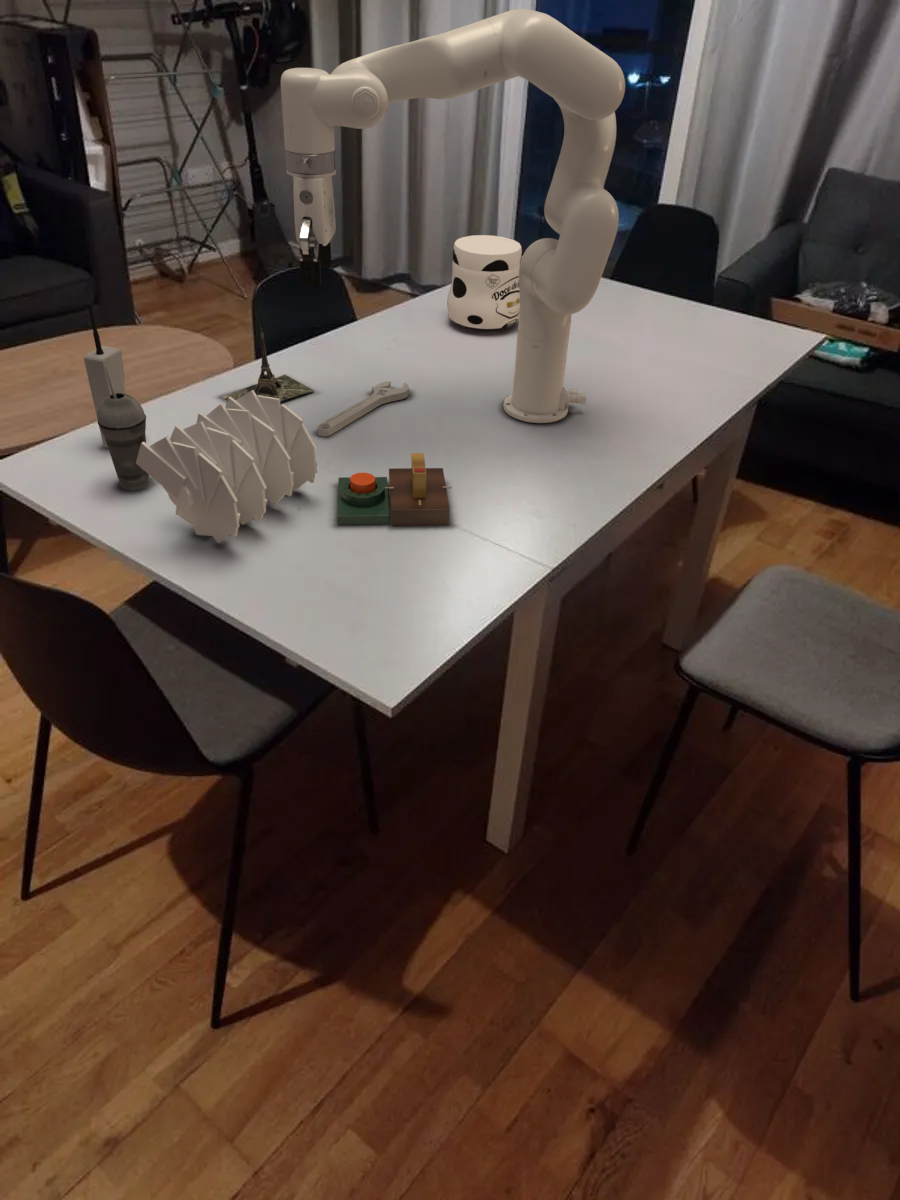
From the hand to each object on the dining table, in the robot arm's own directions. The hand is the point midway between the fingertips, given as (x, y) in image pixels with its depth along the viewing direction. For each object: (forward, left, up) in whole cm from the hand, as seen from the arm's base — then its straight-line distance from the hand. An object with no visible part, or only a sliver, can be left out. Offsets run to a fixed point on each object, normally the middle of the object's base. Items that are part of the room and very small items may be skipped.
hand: (316, 276), depth 145 cm
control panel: (-16, +27, -28) cm, 42 cm away
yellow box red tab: (-16, +27, -25) cm, 40 cm away
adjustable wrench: (-7, -8, -28) cm, 30 cm away
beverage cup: (+30, +19, -28) cm, 46 cm away
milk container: (-36, -54, -28) cm, 70 cm away
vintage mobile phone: (+35, +5, -28) cm, 45 cm away
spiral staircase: (+12, +28, -28) cm, 41 cm away
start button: (-7, +27, -25) cm, 37 cm away
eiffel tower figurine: (+11, -15, -28) cm, 34 cm away
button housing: (-7, +27, -28) cm, 39 cm away
